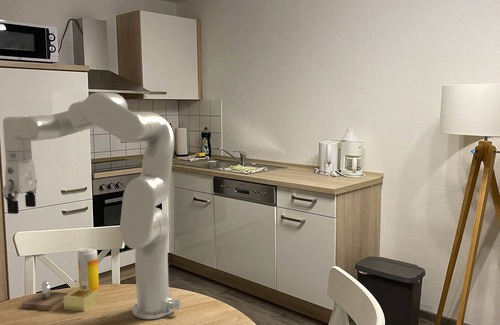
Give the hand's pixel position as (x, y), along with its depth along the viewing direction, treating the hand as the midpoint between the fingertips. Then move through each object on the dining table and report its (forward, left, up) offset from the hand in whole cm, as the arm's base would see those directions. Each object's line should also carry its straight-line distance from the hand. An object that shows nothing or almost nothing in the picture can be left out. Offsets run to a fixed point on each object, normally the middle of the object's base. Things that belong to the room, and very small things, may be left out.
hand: (22, 210), depth 150 cm
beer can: (-16, -9, -30) cm, 35 cm away
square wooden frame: (-19, +1, -30) cm, 35 cm away
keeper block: (-7, +1, -30) cm, 31 cm away
